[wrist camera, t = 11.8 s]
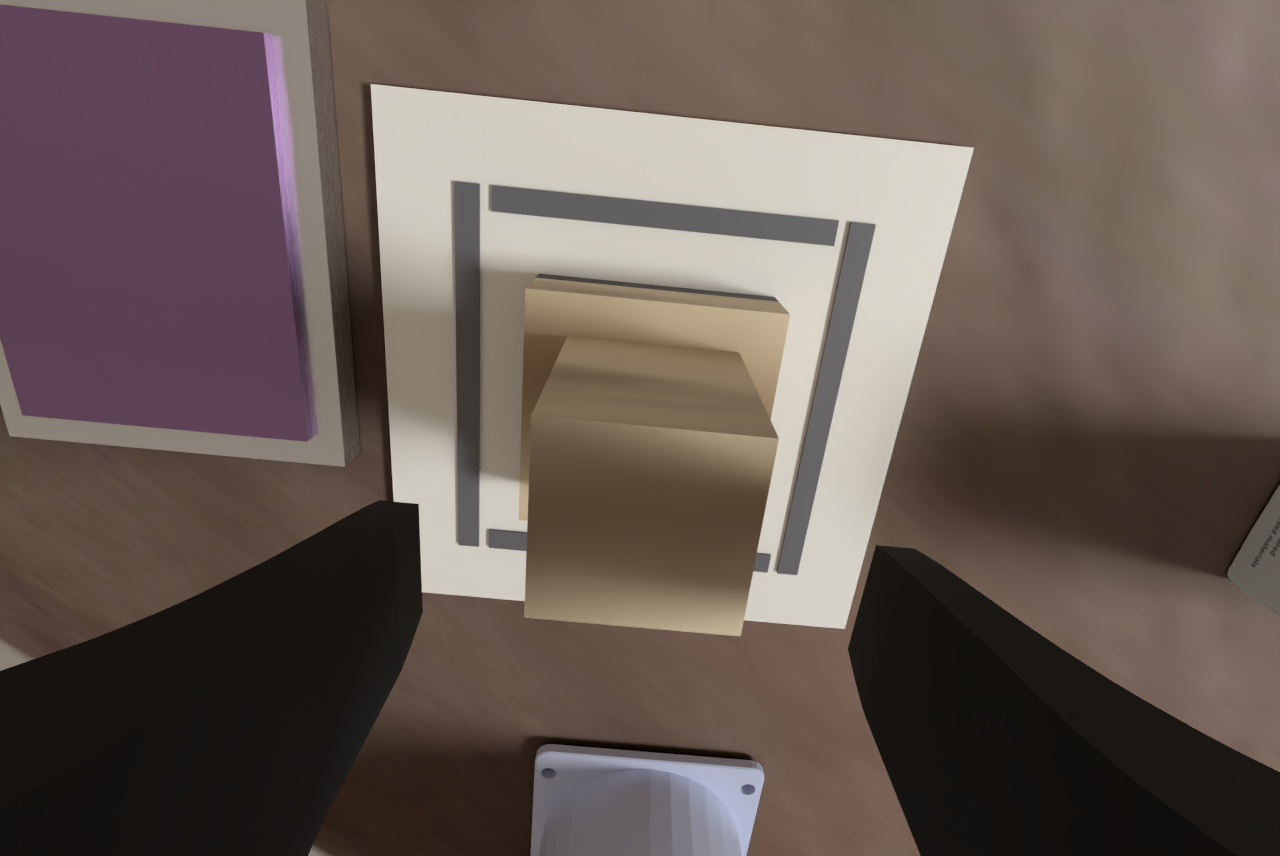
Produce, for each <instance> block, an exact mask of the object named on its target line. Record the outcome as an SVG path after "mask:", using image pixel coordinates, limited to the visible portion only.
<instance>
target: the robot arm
mask: <svg viewBox="0 0 1280 856" xmlns="http://www.w3.org/2000/svg"><path fill="white" fill-rule="evenodd" d="M422 612H423V610H422V582H421V555H420V527H419V504H414V503H403V502H392V501H381V500H379V501H377V502H375V503H373V504H370V505H368V506H366V507H364V508H362V509H360V510H358V511H356V512H355V513H353V514H351V515H349V516H347V517H345V518H343V519H342V520H340V521H338V522H336V523H334V524H333V525H331V526H329V527H327V528H325V529H324V530H322V531H320V532H318V533H316V534H315V535H313V536H311V537H309V538H307V539H305V540H304V541H302V542H300V543H298V544H296V545H294V546H293V547H291V548H289V549H287V550H285V551H283V552H282V553H280V554H278V555H276V556H274V557H272V558H271V559H269V560H267V561H265V562H263V563H261V564H259V565H257V566H255V567H253V568H251V569H249V570H247V571H245V572H243V573H241V574H239V575H237V576H235V577H233V578H231V579H229V580H227V581H225V582H223V583H221V584H219V585H217V586H215V587H213V588H211V589H208V590H206V591H204V592H202V593H200V594H198V595H196V596H194V597H192V598H190V599H187V600H185V601H183V602H181V603H179V604H176V605H174V606H172V607H170V608H167V609H165V610H163V611H160V612H158V613H156V614H153V615H151V616H148V617H146V618H144V619H141V620H139V621H136V622H134V623H131V624H129V625H126V626H124V627H122V628H119V629H117V630H114V631H112V632H109V633H107V634H104V635H101V636H99V637H96V638H94V639H91V640H88V641H86V642H83V643H80V644H77V645H74V646H71V647H68V648H65V649H63V650H60V651H57V652H54V653H51V654H48V655H45V656H42V657H39V658H37V659H34V660H31V661H28V662H25V663H22V664H19V665H16V666H14V667H11V668H8V669H5V670H2V671H0V856H308V854H309V852H310V849H311V847H312V845H313V842H314V840H315V838H316V836H317V834H318V832H319V829H320V827H321V825H322V823H323V821H324V819H325V817H326V815H327V813H328V810H329V808H330V806H331V804H332V802H333V801H334V799H335V797H336V795H337V793H338V791H339V789H340V787H341V785H342V783H343V781H344V780H345V778H346V776H347V774H348V772H349V770H350V768H351V766H352V764H353V762H354V761H355V759H356V757H357V755H358V753H359V751H360V749H361V747H362V745H363V743H364V741H365V740H366V738H367V736H368V734H369V732H370V730H371V728H372V726H373V724H374V722H375V721H376V719H377V717H378V715H379V713H380V711H381V709H382V707H383V705H384V703H385V701H386V699H387V697H388V695H389V693H390V691H391V690H392V688H393V686H394V684H395V682H396V680H397V678H398V676H399V674H400V672H401V670H402V667H403V665H404V662H405V659H406V657H407V654H408V651H409V649H410V646H411V643H412V641H413V638H414V635H415V632H416V629H417V626H418V624H419V621H420V618H421V615H422ZM848 651H849V655H850V660H851V664H852V668H853V673H854V677H855V681H856V685H857V689H858V693H859V696H860V700H861V704H862V708H863V711H864V713H865V716H866V719H867V721H868V724H869V727H870V729H871V732H872V734H873V737H874V739H875V742H876V745H877V747H878V750H879V752H880V755H881V757H882V760H883V762H884V765H885V767H886V770H887V772H888V775H889V777H890V780H891V782H892V785H893V787H894V790H895V792H896V795H897V797H898V800H899V802H900V805H901V807H902V810H903V812H904V815H905V817H906V820H907V822H908V825H909V827H910V830H911V832H912V835H913V837H914V840H915V842H916V845H917V847H918V850H919V852H920V855H921V856H1280V772H1278V771H1276V770H1274V769H1272V768H1270V767H1268V766H1266V765H1264V764H1262V763H1260V762H1258V761H1256V760H1254V759H1252V758H1250V757H1248V756H1246V755H1244V754H1242V753H1240V752H1238V751H1236V750H1234V749H1232V748H1230V747H1228V746H1226V745H1224V744H1222V743H1220V742H1219V741H1217V740H1215V739H1213V738H1211V737H1209V736H1207V735H1205V734H1203V733H1202V732H1200V731H1198V730H1196V729H1194V728H1192V727H1191V726H1189V725H1187V724H1185V723H1184V722H1182V721H1180V720H1178V719H1177V718H1175V717H1173V716H1171V715H1169V714H1168V713H1166V712H1164V711H1162V710H1161V709H1159V708H1157V707H1155V706H1153V705H1152V704H1150V703H1148V702H1146V701H1145V700H1143V699H1141V698H1139V697H1138V696H1136V695H1134V694H1133V693H1131V692H1129V691H1128V690H1126V689H1124V688H1123V687H1121V686H1119V685H1118V684H1116V683H1114V682H1113V681H1111V680H1109V679H1108V678H1106V677H1105V676H1103V675H1102V674H1100V673H1098V672H1097V671H1095V670H1094V669H1092V668H1091V667H1089V666H1087V665H1086V664H1084V663H1083V662H1081V661H1080V660H1078V659H1077V658H1075V657H1073V656H1072V655H1070V654H1069V653H1067V652H1066V651H1064V650H1062V649H1061V648H1060V647H1058V646H1057V645H1055V644H1054V643H1052V642H1051V641H1049V640H1048V639H1046V638H1045V637H1043V636H1042V635H1040V634H1039V633H1037V632H1036V631H1034V630H1033V629H1031V628H1030V627H1029V626H1027V625H1026V624H1024V623H1023V622H1021V621H1020V620H1018V619H1017V618H1016V617H1014V616H1013V615H1011V614H1010V613H1008V612H1007V611H1006V610H1004V609H1003V608H1001V607H1000V606H998V605H997V604H996V603H994V602H993V601H991V600H990V599H989V598H987V597H986V596H984V595H983V594H982V593H980V592H979V591H977V590H976V589H975V588H973V587H972V586H970V585H969V584H967V583H966V582H965V581H963V580H962V579H960V578H959V577H958V576H956V575H955V574H953V573H952V572H950V571H949V570H947V569H946V568H945V567H943V566H942V565H940V564H939V563H937V562H936V561H934V560H932V559H931V558H929V557H928V556H926V555H924V554H923V553H921V552H919V551H917V550H916V549H911V548H900V547H889V546H878V545H876V548H875V551H874V555H873V559H872V562H871V566H870V570H869V573H868V577H867V581H866V584H865V588H864V592H863V595H862V599H861V603H860V607H859V610H858V614H857V618H856V621H855V625H854V629H853V632H852V636H851V640H850V643H849V647H848ZM547 768H551V769H547ZM763 782H764V773H763V768H762V766H761V765H760V764H759V763H757V762H756V761H751V760H741V759H728V758H716V757H704V756H692V755H679V754H667V753H655V752H643V751H631V750H618V749H606V748H594V747H582V746H569V745H557V744H546V745H543V746H541V747H540V748H539V749H538V750H537V753H536V758H535V772H534V793H533V814H532V835H531V856H746V854H747V850H748V846H749V842H750V837H751V833H752V829H753V825H754V820H755V816H756V812H757V808H758V804H759V799H760V795H761V791H762V787H763ZM746 784H749V785H746Z"/></svg>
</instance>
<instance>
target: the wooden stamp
mask: <svg viewBox="0 0 1280 856" xmlns="http://www.w3.org/2000/svg"><path fill="white" fill-rule="evenodd" d="M789 318H790V314H789V313H788V311H787V310H786V309H785V308H784V307H783V306H782V305H781V304H780V302H779V301H778V300H777V299H776V298H775V297H770V296H760V295H750V294H740V293H730V292H720V291H710V290H700V289H690V288H680V287H670V286H659V285H649V284H639V283H629V282H619V281H609V280H599V279H589V278H579V277H569V276H559V275H549V274H538V275H537V276H536V277H535V278H534V280H533V281H532V282H531V283H530V284H529V285H528V286H527V287H526V288H525V314H524V349H523V383H522V418H521V453H520V488H519V520H524V521H528V523H527V552H526V580H525V609H524V618H535V619H547V620H558V621H570V622H581V623H593V624H605V625H616V626H628V627H639V628H651V629H662V630H674V631H686V632H697V633H709V634H720V635H732V636H741V632H742V627H743V622H744V616H745V611H746V606H747V601H748V596H749V591H750V586H751V580H752V575H753V570H754V565H755V560H756V555H757V549H758V544H759V539H760V534H761V529H762V524H763V518H764V513H765V508H766V503H767V498H768V493H769V487H770V482H771V477H772V472H773V467H774V462H775V456H776V451H777V446H778V441H779V438H778V435H777V433H776V431H775V429H774V427H773V425H772V422H771V415H772V410H773V404H774V399H775V393H776V388H777V383H778V377H779V372H780V367H781V361H782V356H783V350H784V345H785V340H786V334H787V329H788V324H789Z"/></svg>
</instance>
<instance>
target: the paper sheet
mask: <svg viewBox="0 0 1280 856" xmlns="http://www.w3.org/2000/svg"><path fill="white" fill-rule="evenodd" d="M371 99H372V117H373V135H374V154H375V172H376V190H377V208H378V227H379V245H380V263H381V281H382V300H383V318H384V336H385V354H386V372H387V391H388V409H389V427H390V445H391V464H392V482H393V500H394V502H403V503H414V504H419V527H420V555H421V582H422V592H427V593H438V594H449V595H461V596H472V597H484V598H495V599H507V600H518V601H525V580H526V552H527V523H528V521H524V520H519V488H520V453H521V418H522V383H523V349H524V314H525V288H526V287H527V286H528V285H529V284H530V283H531V282H532V281H533V280H534V278H535V277H536V276H537V275H538V274H549V275H559V276H569V277H579V278H589V279H599V280H609V281H619V282H629V283H639V284H649V285H659V286H670V287H680V288H690V289H700V290H710V291H720V292H730V293H740V294H750V295H760V296H770V297H775V298H776V299H777V300H778V301H779V302H780V304H781V305H782V306H783V307H784V308H785V309H786V310H787V311H788V313H789V314H790V318H789V324H788V329H787V334H786V340H785V345H784V350H783V356H782V361H781V367H780V372H779V377H778V383H777V388H776V393H775V399H774V404H773V410H772V415H771V422H772V425H773V427H774V429H775V431H776V433H777V435H778V438H779V441H778V446H777V451H776V456H775V462H774V467H773V472H772V477H771V482H770V487H769V493H768V498H767V503H766V508H765V513H764V518H763V524H762V529H761V534H760V539H759V544H758V549H757V555H756V560H755V565H754V570H753V575H752V580H751V586H750V591H749V596H748V601H747V606H746V611H745V616H744V620H748V621H760V622H771V623H783V624H794V625H806V626H817V627H828V628H840V629H845V626H846V623H847V619H848V615H849V611H850V608H851V604H852V600H853V596H854V593H855V589H856V585H857V582H858V578H859V574H860V570H861V567H862V563H863V559H864V555H865V552H866V548H867V544H868V541H869V537H870V533H871V529H872V526H873V522H874V518H875V514H876V511H877V507H878V503H879V500H880V496H881V492H882V488H883V485H884V481H885V477H886V474H887V470H888V466H889V462H890V459H891V455H892V451H893V447H894V444H895V440H896V436H897V433H898V429H899V425H900V421H901V418H902V414H903V410H904V406H905V403H906V399H907V395H908V392H909V388H910V384H911V380H912V377H913V373H914V369H915V365H916V362H917V358H918V354H919V351H920V347H921V343H922V339H923V336H924V332H925V328H926V325H927V321H928V317H929V313H930V310H931V306H932V302H933V298H934V295H935V291H936V287H937V284H938V280H939V276H940V272H941V269H942V265H943V261H944V257H945V254H946V250H947V246H948V243H949V239H950V235H951V231H952V228H953V224H954V220H955V216H956V213H957V209H958V205H959V202H960V198H961V194H962V190H963V187H964V183H965V179H966V175H967V172H968V168H969V164H970V161H971V157H972V153H973V149H974V148H970V147H961V146H952V145H942V144H933V143H923V142H914V141H904V140H895V139H885V138H876V137H866V136H857V135H848V134H838V133H829V132H819V131H810V130H800V129H791V128H781V127H772V126H762V125H753V124H744V123H734V122H725V121H715V120H706V119H696V118H687V117H677V116H668V115H658V114H649V113H640V112H630V111H621V110H611V109H602V108H592V107H583V106H573V105H564V104H554V103H545V102H536V101H526V100H517V99H507V98H498V97H488V96H479V95H469V94H460V93H451V92H441V91H432V90H422V89H413V88H403V87H394V86H384V85H375V84H371Z"/></svg>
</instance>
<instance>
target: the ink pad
mask: <svg viewBox="0 0 1280 856" xmlns="http://www.w3.org/2000/svg"><path fill="white" fill-rule="evenodd" d="M0 405H1V409H2V412H3V415H4V419H5V422H6V425H7V429H8V432H9V436H14V437H25V438H36V439H47V440H58V441H69V442H80V443H91V444H102V445H113V446H124V447H135V448H145V449H156V450H167V451H178V452H189V453H200V454H211V455H222V456H233V457H244V458H255V459H266V460H277V461H288V462H299V463H309V464H320V465H331V466H342V467H345V466H346V465H347V464H348V463H349V462H350V461H351V460H352V459H353V458H354V457H355V456H356V455H357V454H358V453H359V452H360V444H359V430H358V417H357V403H356V390H355V377H354V363H353V350H352V336H351V323H350V310H349V296H348V283H347V269H346V256H345V243H344V229H343V216H342V202H341V189H340V176H339V162H338V149H337V135H336V122H335V109H334V95H333V82H332V68H331V55H330V42H329V28H328V15H327V5H325V4H323V3H321V2H318V1H316V0H0Z"/></svg>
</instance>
